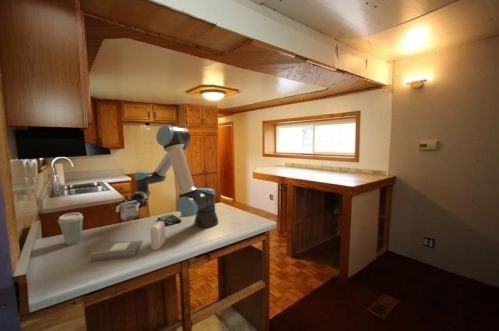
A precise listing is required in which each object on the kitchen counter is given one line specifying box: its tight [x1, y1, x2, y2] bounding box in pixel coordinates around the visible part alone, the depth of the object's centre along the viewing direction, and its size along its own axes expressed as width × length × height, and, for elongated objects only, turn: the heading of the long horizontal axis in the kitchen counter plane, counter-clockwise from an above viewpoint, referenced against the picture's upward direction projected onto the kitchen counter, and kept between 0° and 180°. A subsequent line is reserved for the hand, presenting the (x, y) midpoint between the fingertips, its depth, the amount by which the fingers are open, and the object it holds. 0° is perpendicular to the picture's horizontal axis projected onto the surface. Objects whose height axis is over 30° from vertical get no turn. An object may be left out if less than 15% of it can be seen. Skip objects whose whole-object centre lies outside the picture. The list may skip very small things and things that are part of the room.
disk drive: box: [157, 214, 182, 227], centre depth 151 cm, size 10×3×15 cm
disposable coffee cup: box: [57, 212, 84, 246], centre depth 120 cm, size 11×11×15 cm
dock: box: [90, 240, 143, 262], centre depth 111 cm, size 18×15×3 cm
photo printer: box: [150, 220, 166, 251], centre depth 116 cm, size 10×4×12 cm, turn 179°
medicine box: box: [119, 200, 140, 221], centre depth 123 cm, size 8×4×9 cm, turn 148°
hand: (126, 209), depth 119 cm, fingers closed on medicine box, 8 cm apart
